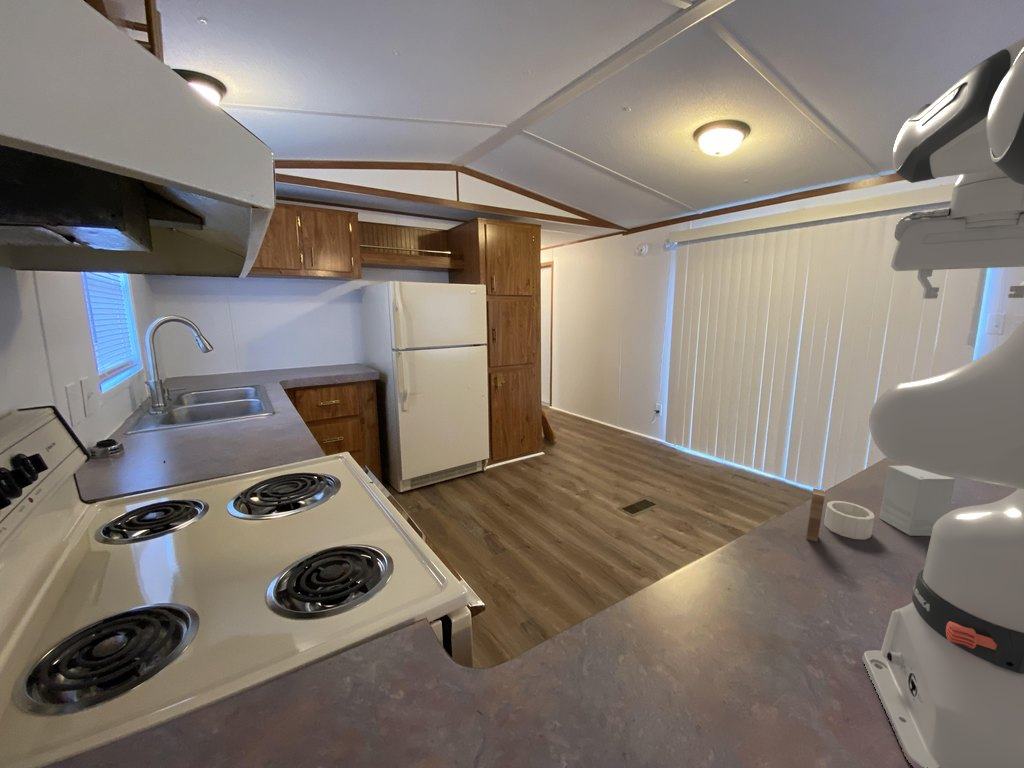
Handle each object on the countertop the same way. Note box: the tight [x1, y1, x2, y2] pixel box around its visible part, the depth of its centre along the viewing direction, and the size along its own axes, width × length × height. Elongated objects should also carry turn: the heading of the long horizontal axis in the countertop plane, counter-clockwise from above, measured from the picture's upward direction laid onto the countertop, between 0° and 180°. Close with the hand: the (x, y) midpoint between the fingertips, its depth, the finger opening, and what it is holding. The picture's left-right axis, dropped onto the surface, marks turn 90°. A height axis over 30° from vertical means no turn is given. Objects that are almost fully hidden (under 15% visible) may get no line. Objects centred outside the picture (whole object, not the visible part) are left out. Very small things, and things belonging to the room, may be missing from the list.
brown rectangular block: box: [805, 487, 826, 543], centre depth 82 cm, size 3×2×10 cm, turn 144°
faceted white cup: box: [823, 500, 875, 540], centre depth 86 cm, size 8×8×4 cm
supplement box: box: [879, 465, 956, 537], centre depth 86 cm, size 7×7×13 cm
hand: (971, 298), depth 64 cm, fingers open, 8 cm apart
